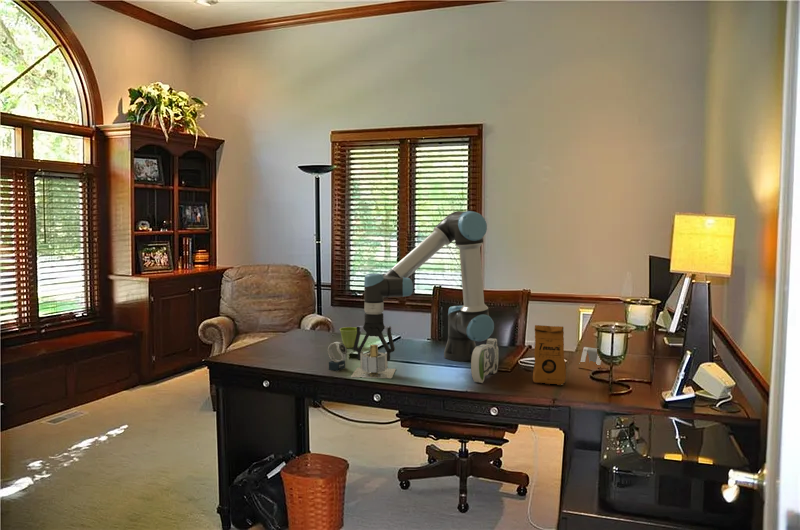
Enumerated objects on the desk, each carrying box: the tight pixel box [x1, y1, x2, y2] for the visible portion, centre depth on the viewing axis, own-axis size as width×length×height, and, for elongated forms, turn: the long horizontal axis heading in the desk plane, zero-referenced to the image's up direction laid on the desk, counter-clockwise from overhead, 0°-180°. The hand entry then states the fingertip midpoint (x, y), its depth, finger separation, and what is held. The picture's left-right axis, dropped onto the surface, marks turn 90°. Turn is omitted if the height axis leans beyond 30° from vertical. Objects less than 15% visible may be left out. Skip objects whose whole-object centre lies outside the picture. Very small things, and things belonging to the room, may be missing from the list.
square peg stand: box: [350, 344, 397, 379], centre depth 250 cm, size 16×14×11 cm
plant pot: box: [339, 326, 357, 349], centre depth 298 cm, size 9×9×9 cm
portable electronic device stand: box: [580, 346, 602, 366], centre depth 259 cm, size 9×8×8 cm
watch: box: [327, 341, 348, 372], centre depth 257 cm, size 6×8×11 cm
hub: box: [362, 351, 386, 373], centre depth 251 cm, size 9×9×6 cm
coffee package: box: [532, 324, 567, 386], centre depth 237 cm, size 10×12×22 cm
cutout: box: [470, 337, 499, 384], centre depth 244 cm, size 15×3×25 cm
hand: (374, 368), depth 251 cm, fingers closed on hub, 9 cm apart
